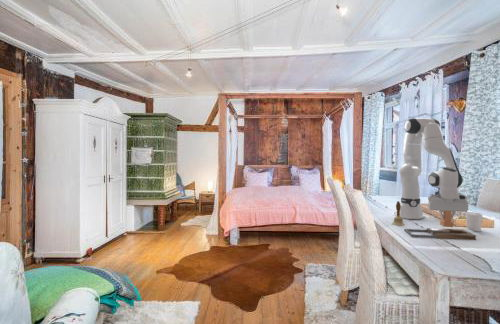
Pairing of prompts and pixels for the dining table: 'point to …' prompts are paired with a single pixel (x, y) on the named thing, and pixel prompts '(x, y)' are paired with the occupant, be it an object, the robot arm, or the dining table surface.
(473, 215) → the white cup
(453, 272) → the dining table surface
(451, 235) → the slot board
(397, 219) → the hand bell
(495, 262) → the dining table surface
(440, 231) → the grey square block
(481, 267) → the dining table surface
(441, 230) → the light grey block
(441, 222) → the stepped wedge block
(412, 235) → the tray
